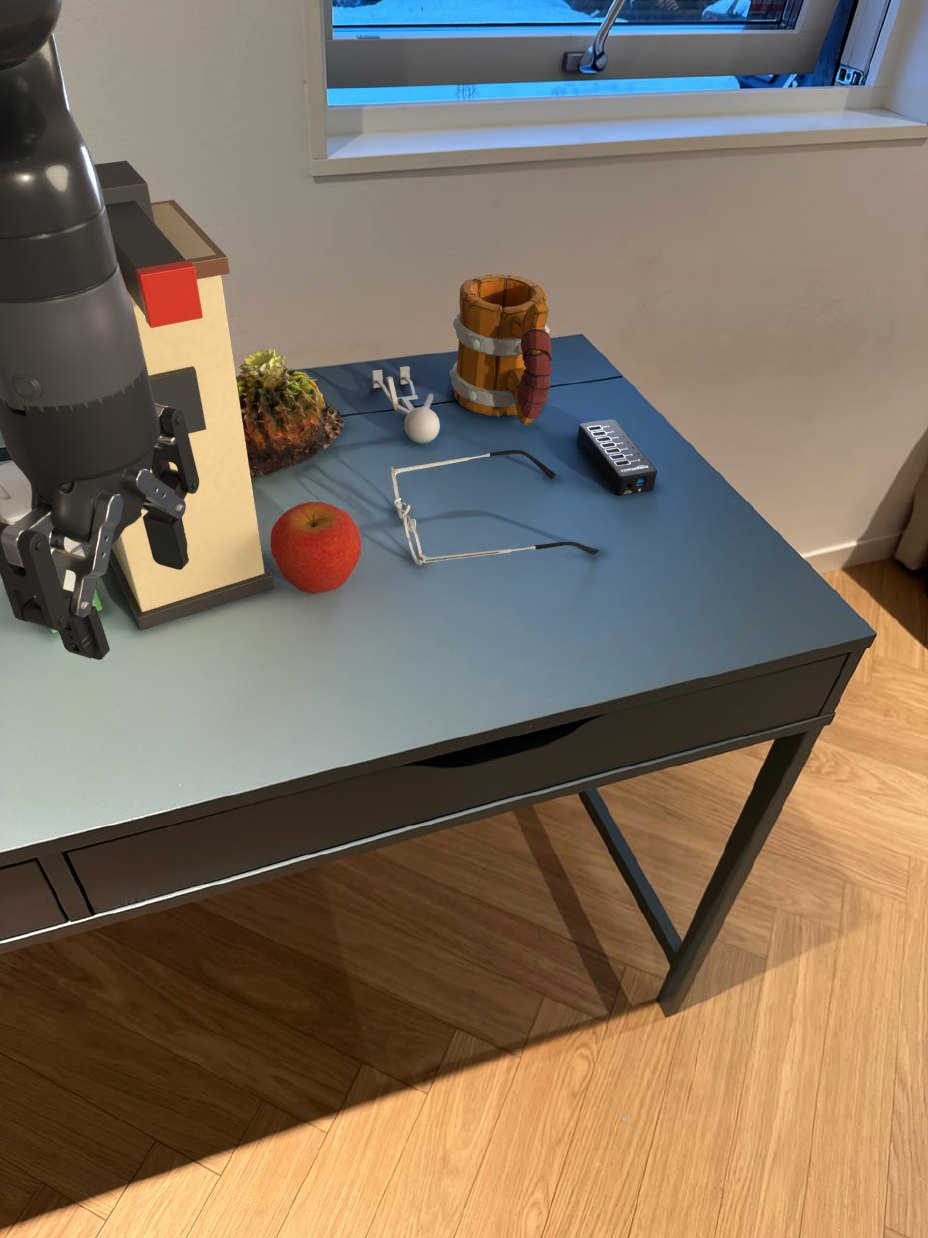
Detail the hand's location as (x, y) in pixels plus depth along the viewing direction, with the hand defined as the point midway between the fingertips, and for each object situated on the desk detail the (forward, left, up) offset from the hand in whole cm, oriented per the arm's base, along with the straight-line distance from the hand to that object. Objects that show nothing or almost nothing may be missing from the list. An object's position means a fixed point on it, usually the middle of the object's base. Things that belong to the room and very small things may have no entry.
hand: (133, 606), depth 55 cm
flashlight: (+8, +16, +13) cm, 22 cm away
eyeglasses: (+36, +15, -17) cm, 42 cm away
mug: (+50, +34, -17) cm, 63 cm away
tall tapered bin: (+8, +22, -17) cm, 29 cm away
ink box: (-4, +24, -17) cm, 29 cm away
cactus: (+23, +40, -17) cm, 49 cm away
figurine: (+39, +37, -17) cm, 56 cm away
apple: (+18, +15, -17) cm, 29 cm away
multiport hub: (+54, +18, -17) cm, 59 cm away
